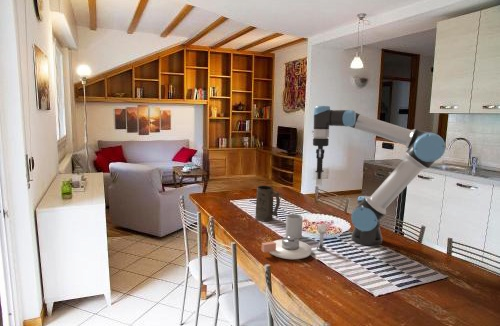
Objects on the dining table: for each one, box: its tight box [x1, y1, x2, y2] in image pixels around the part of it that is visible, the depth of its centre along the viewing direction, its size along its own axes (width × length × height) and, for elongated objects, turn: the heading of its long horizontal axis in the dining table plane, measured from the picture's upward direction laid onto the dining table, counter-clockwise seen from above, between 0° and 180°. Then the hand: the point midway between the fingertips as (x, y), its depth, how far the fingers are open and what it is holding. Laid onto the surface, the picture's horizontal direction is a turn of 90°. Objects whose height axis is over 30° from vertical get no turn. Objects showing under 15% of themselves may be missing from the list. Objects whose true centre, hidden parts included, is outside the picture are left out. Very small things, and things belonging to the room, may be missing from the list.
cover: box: [281, 235, 300, 250], centre depth 162 cm, size 8×8×5 cm
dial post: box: [316, 223, 328, 252], centre depth 166 cm, size 4×4×13 cm
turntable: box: [260, 239, 312, 260], centre depth 161 cm, size 24×20×5 cm
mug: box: [284, 213, 304, 240], centre depth 184 cm, size 12×8×11 cm
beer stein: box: [255, 185, 281, 222], centre depth 210 cm, size 15×11×20 cm
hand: (318, 184), depth 174 cm, fingers closed
